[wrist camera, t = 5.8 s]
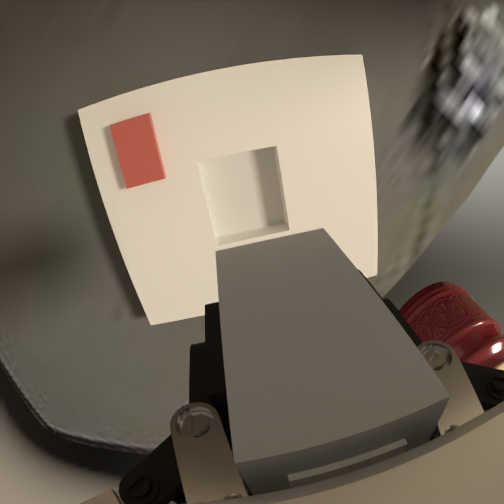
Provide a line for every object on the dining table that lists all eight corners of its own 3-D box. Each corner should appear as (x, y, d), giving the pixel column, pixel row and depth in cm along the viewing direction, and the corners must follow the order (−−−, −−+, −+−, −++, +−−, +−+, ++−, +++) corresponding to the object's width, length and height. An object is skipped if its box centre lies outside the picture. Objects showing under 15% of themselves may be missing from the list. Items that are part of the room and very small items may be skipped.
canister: (369, 362, 38) (426, 474, 23) (407, 276, 33) (503, 388, 17) (439, 354, 41) (498, 441, 25) (477, 280, 35) (561, 363, 20)
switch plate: (351, 56, 22) (366, 53, 20) (368, 265, 32) (380, 279, 29) (86, 109, 22) (73, 110, 19) (153, 312, 31) (149, 330, 28)
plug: (323, 227, 12) (454, 401, 5) (329, 330, 14) (404, 490, 7) (215, 250, 12) (235, 469, 4) (241, 351, 14) (273, 529, 7)
